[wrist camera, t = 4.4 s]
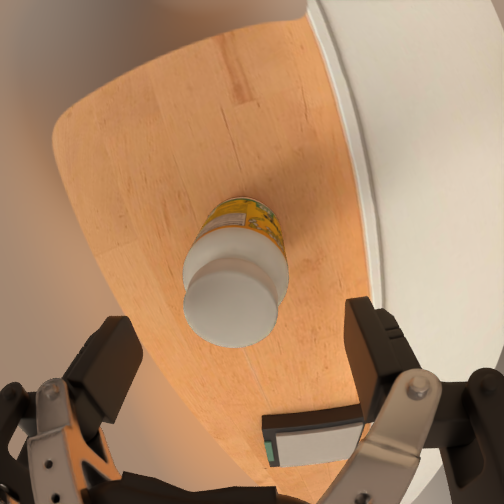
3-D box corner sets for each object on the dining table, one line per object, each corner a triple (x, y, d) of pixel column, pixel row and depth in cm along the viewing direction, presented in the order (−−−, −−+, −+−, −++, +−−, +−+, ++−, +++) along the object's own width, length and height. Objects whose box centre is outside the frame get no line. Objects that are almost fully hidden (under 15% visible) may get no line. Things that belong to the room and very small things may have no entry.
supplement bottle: (195, 207, 20) (146, 270, 11) (270, 186, 19) (277, 237, 10) (219, 273, 22) (194, 365, 13) (288, 257, 21) (304, 347, 12)
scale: (270, 456, 34) (270, 470, 32) (261, 415, 29) (261, 433, 27) (351, 446, 33) (354, 460, 31) (364, 403, 28) (368, 420, 26)
